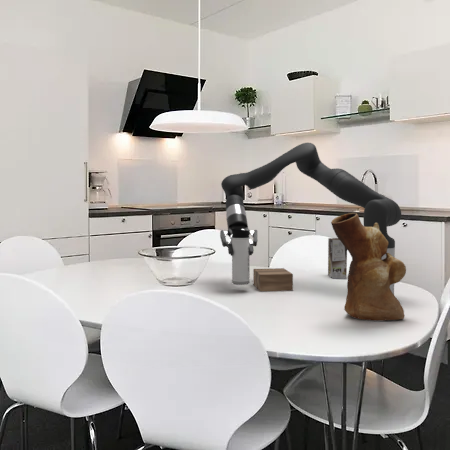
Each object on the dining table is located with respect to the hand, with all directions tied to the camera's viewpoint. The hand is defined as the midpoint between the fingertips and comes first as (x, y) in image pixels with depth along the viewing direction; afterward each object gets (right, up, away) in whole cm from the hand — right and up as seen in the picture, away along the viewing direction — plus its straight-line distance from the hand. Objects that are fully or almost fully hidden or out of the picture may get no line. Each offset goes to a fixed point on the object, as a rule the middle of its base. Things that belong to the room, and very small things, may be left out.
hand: (241, 254), depth 184 cm
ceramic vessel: (+34, -16, -36) cm, 52 cm away
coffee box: (+41, -12, +34) cm, 55 cm away
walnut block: (+12, -13, +10) cm, 20 cm away
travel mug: (0, -11, +2) cm, 11 cm away
